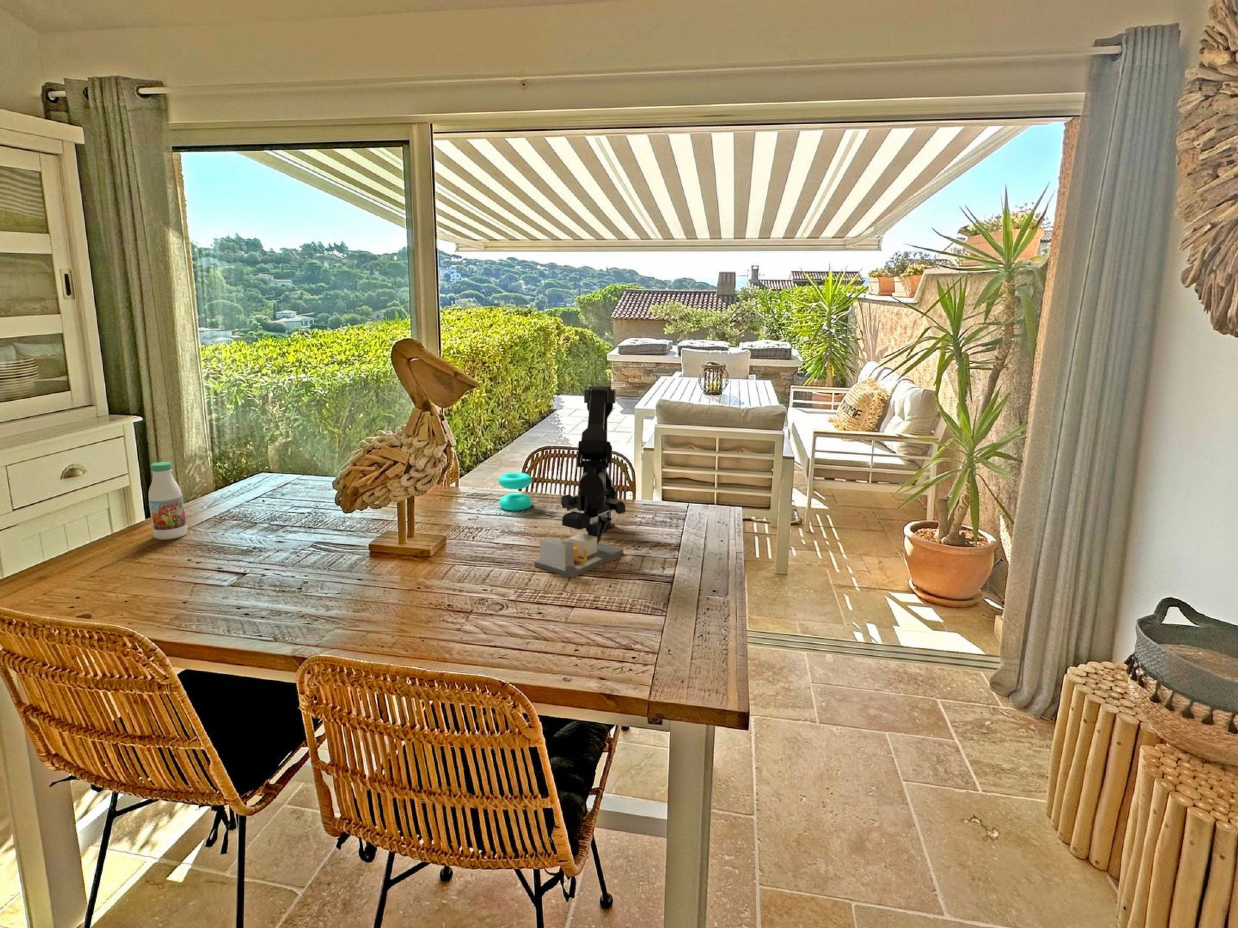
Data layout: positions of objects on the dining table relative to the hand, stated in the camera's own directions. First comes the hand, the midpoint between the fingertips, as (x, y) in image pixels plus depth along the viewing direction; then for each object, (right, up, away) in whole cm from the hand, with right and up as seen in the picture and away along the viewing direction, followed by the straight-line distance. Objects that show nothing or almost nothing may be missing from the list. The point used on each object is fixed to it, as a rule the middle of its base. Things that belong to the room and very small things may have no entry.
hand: (594, 545), depth 184 cm
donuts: (-25, +7, +39) cm, 47 cm away
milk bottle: (-114, +1, +11) cm, 115 cm away
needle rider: (-5, -3, -8) cm, 10 cm away
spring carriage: (-3, -1, -3) cm, 5 cm away
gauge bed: (-4, -3, -4) cm, 6 cm away
